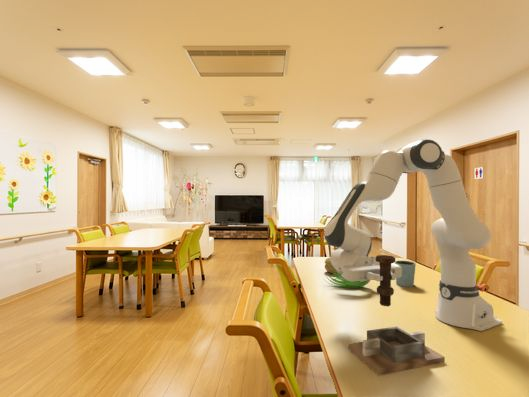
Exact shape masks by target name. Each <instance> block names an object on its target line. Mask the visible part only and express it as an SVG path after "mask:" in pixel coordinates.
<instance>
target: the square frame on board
mask: <svg viewBox="0 0 529 397" xmlns="http://www.w3.org/2000/svg"><path fill="white" fill-rule="evenodd" d="M425 339H426V333H425V332H424V331H414V332H413V331H412V332H407V331H405V330H403V329H402V328H400V327H398V326H389V327H383V328H377V329H369V330H366V339H363V340H362V341H359V342H351V343H348V344H347V345H348V346H347V347H348V350H349V351H350V352H352V354H353V355H355V356H356V357H357V358H358V359H359V360H360V361H361V362H362V363H364V364H365V365H366V366H367V367H368V368H369V369H371V370H372V371H373V372H374V373H376V374H377V376H382V375H387V374H392V373H397V372H402V371H406V370H407V371H408V370H413V369H418V368H421V367H427V366H432V365H433V366H434V365H437V364H438V365H439V364H443V363H445V361H446V360H445V358H446V356H444V355H442V354H441V353H438V352H437V351H436V350H434V349H433V348H430V347H429V346H427V345H426V343H425V342H426V340H425Z"/></svg>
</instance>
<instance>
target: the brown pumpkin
mask: <svg viewBox="0 0 529 397" xmlns="http://www.w3.org/2000/svg"><path fill="white" fill-rule="evenodd" d="M326 258H327V259H325V260H324V263H325V265H324V268H325V271H326V272H327V273H328V274H330V273H331V274H333V273H334V272H333V271H337V270H336V269H333V268H334V267H333V266H332V264H331V261H330V260H328V259H330V257H326ZM336 273H338V272H335V273H334V274H336Z"/></svg>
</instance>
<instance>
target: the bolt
mask: <svg viewBox="0 0 529 397" xmlns="http://www.w3.org/2000/svg"><path fill="white" fill-rule="evenodd" d="M375 257H376V261H377V262H379V265H380V275H382V276H383V278H382V279H383V281H379V285H378V286H377V287H376V293H377V294H378V295H379V304H380V305H381V306H383V307H390V306H391V305H392V304H391V303H392V300H391V299H392V296H393V295H394V292H395V289H394V288H393V287H392V283H391V282H392V280H391V263H394V264H395V261H396V257H394V256H393V255H389V254H388V255H387V254H382V255H381V254H378V255H376V256H375Z"/></svg>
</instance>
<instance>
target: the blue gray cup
mask: <svg viewBox="0 0 529 397" xmlns="http://www.w3.org/2000/svg"><path fill="white" fill-rule="evenodd" d="M394 264H397V265H399V266H401V268H402V276H401V277H400V278H396V279H395V283H396V285H397V286H401V287H406V288H407V287H408V288H411V287H412V288H413V287H414V284H415V274H416V262H413V261H410V260H395V262H394Z"/></svg>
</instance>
